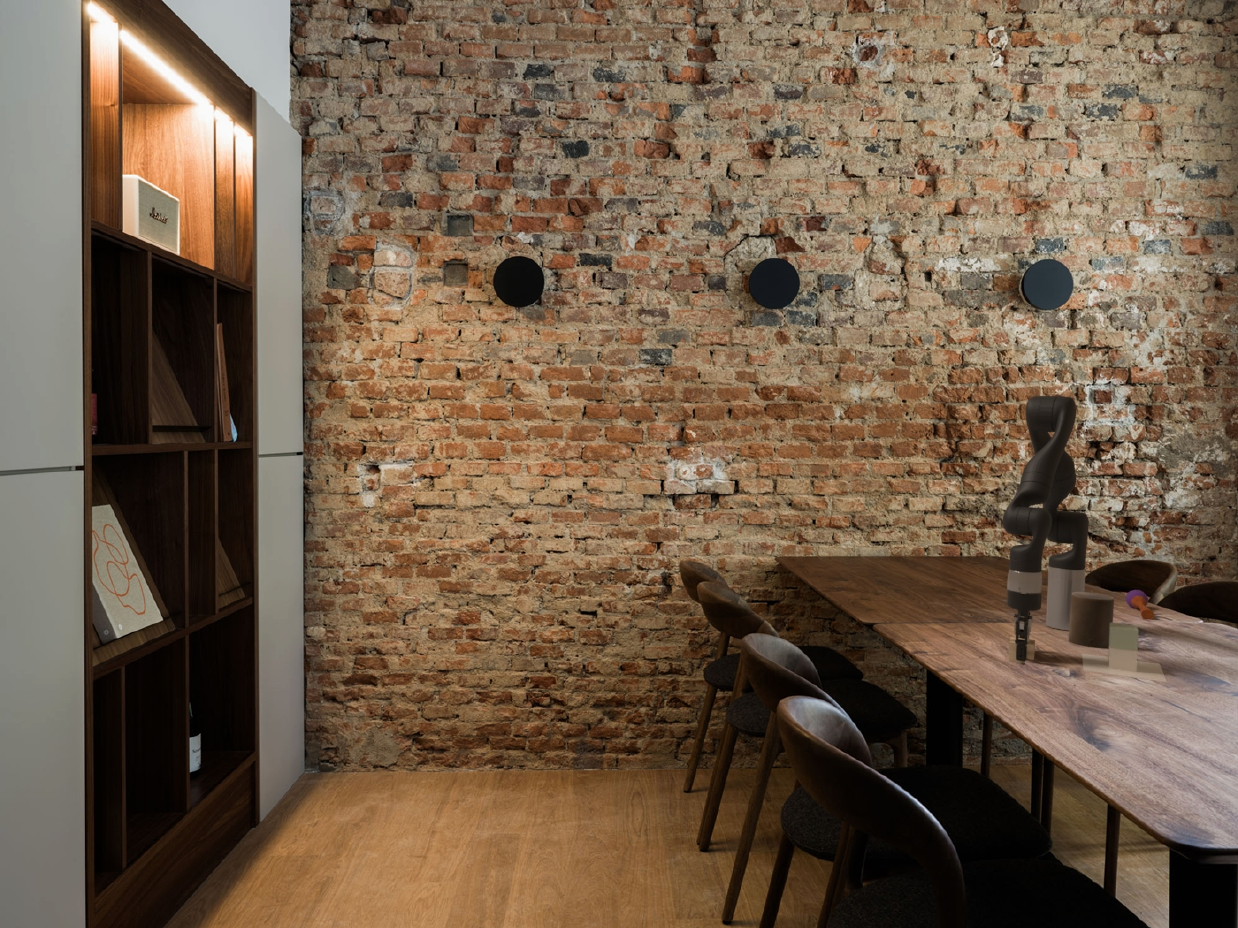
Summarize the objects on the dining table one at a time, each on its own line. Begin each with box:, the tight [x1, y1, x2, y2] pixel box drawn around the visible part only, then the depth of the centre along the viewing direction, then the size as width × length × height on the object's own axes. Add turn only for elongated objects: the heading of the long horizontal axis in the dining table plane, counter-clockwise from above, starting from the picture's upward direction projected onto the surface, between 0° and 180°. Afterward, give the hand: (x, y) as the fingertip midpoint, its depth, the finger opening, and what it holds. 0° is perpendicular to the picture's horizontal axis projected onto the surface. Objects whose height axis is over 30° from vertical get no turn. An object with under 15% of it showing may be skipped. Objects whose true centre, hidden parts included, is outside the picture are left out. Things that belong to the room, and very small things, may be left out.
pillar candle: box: [1068, 590, 1115, 649], centre depth 210 cm, size 10×10×15 cm
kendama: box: [1125, 589, 1155, 621], centre depth 253 cm, size 6×6×20 cm
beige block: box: [1107, 646, 1139, 672], centre depth 189 cm, size 5×5×5 cm
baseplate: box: [1081, 653, 1168, 683], centre depth 190 cm, size 16×16×1 cm
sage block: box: [1109, 622, 1140, 651], centre depth 189 cm, size 5×5×5 cm
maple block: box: [1008, 636, 1036, 664], centre depth 198 cm, size 5×5×5 cm
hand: (1021, 657), depth 198 cm, fingers closed on maple block, 5 cm apart
